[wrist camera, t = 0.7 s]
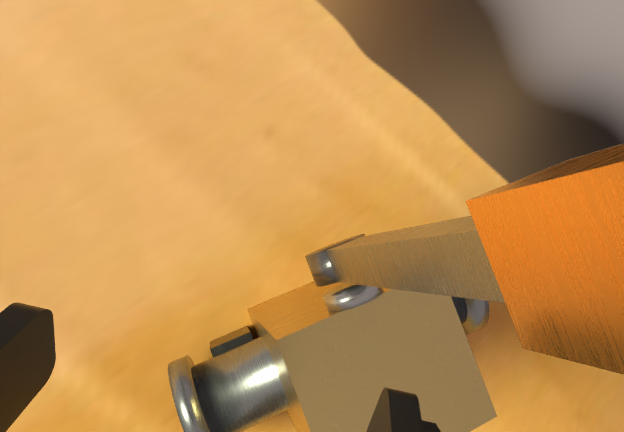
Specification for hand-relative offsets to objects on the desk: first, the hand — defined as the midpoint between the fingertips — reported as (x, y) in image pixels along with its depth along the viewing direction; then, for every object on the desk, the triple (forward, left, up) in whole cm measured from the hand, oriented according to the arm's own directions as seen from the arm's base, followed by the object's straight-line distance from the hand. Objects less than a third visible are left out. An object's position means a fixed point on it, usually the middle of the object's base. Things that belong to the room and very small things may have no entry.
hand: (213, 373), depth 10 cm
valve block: (+6, +7, -24) cm, 26 cm away
